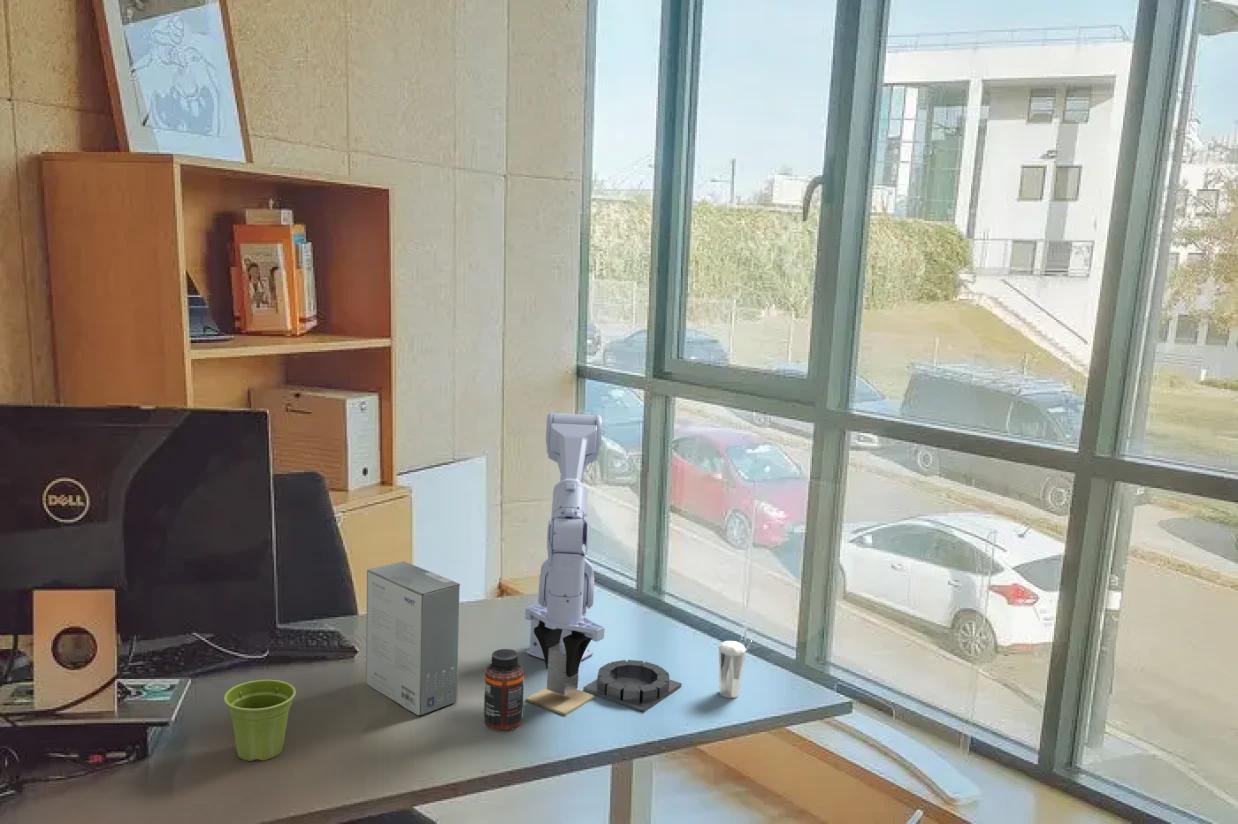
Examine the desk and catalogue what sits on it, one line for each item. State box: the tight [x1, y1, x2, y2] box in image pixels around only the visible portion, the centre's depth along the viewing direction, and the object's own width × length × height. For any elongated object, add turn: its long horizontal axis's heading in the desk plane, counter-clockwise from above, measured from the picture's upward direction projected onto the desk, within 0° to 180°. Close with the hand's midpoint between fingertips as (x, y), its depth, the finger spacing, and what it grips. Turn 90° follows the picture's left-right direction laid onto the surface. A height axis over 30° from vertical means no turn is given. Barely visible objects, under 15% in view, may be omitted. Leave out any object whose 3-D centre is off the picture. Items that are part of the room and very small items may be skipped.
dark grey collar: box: [582, 659, 683, 713], centre depth 161 cm, size 12×12×2 cm
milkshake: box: [718, 639, 753, 699], centre depth 160 cm, size 4×5×10 cm
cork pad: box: [525, 686, 596, 716], centre depth 156 cm, size 8×8×1 cm
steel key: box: [546, 642, 580, 696], centre depth 155 cm, size 4×4×7 cm
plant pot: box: [223, 679, 297, 762], centre depth 135 cm, size 9×9×9 cm
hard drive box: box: [365, 560, 461, 716], centre depth 154 cm, size 16×8×20 cm, turn 47°
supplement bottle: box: [483, 648, 525, 732], centre depth 146 cm, size 6×6×11 cm
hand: (561, 671), depth 155 cm, fingers closed on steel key, 4 cm apart
